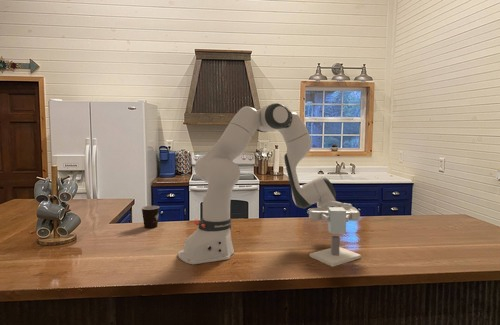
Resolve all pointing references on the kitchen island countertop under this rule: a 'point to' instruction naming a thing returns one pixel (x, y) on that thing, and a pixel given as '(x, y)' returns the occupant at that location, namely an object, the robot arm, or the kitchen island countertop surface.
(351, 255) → the post board
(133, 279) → the kitchen island countertop surface
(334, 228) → the tall grey rectangular prism
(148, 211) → the coffee mug
